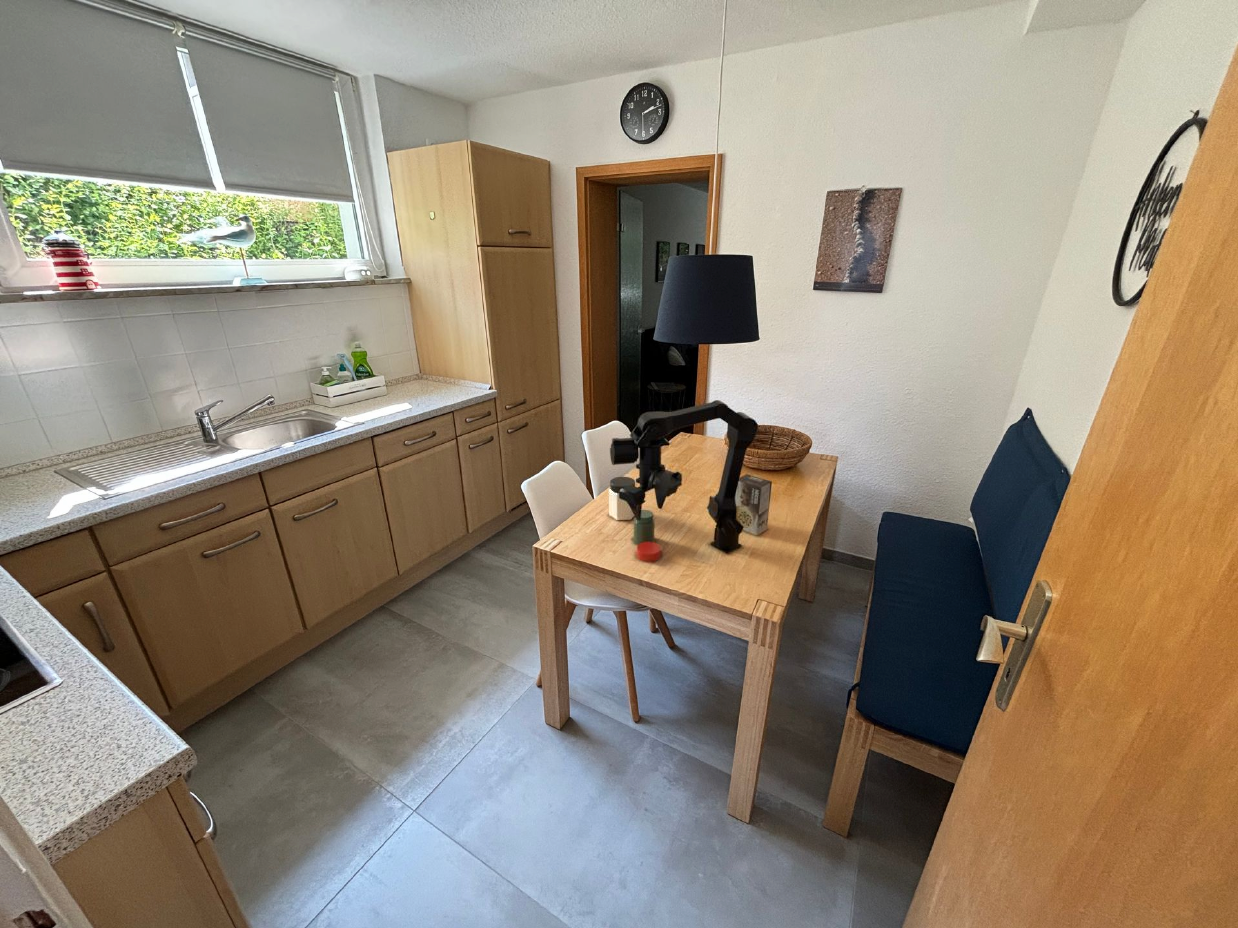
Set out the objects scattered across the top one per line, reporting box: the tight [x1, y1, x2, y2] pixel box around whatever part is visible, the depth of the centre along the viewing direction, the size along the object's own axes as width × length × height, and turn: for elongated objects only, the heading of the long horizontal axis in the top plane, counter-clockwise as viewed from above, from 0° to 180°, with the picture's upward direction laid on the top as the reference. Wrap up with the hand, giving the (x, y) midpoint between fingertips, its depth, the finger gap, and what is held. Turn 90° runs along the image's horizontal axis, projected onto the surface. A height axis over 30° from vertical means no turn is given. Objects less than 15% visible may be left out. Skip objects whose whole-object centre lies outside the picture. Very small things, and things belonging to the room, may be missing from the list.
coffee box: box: [735, 473, 773, 536], centre depth 152 cm, size 9×6×16 cm
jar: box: [608, 476, 636, 521], centre depth 162 cm, size 9×8×12 cm
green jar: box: [633, 509, 656, 546], centre depth 147 cm, size 6×6×9 cm
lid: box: [636, 541, 662, 563], centre depth 140 cm, size 7×7×2 cm
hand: (649, 514), depth 136 cm, fingers open, 9 cm apart
